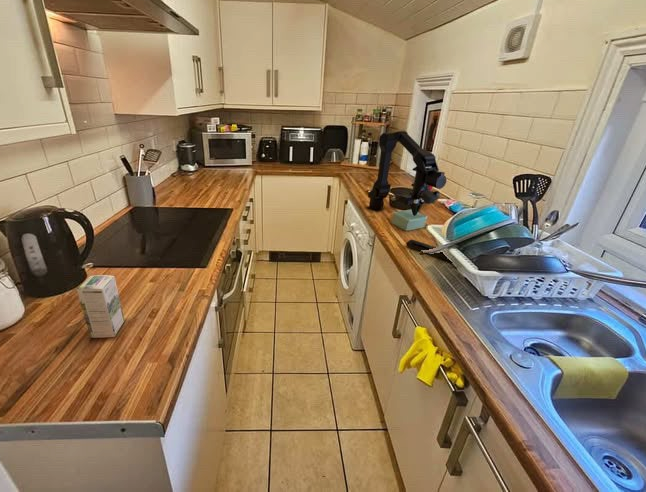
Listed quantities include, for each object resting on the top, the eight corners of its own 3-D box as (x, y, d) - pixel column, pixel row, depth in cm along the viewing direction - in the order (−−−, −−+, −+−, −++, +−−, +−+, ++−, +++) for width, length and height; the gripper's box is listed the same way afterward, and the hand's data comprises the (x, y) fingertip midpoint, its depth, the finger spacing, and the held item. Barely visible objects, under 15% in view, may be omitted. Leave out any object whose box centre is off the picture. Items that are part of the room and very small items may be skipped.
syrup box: (102, 322, 78) (88, 274, 72) (126, 321, 78) (114, 274, 73) (90, 338, 73) (74, 289, 67) (115, 337, 73) (102, 288, 67)
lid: (427, 218, 138) (428, 216, 138) (408, 221, 134) (409, 220, 134) (411, 210, 147) (411, 209, 147) (393, 213, 142) (393, 212, 142)
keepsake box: (424, 227, 141) (426, 217, 139) (405, 231, 136) (407, 221, 134) (409, 219, 149) (411, 210, 147) (391, 223, 144) (392, 213, 142)
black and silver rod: (405, 246, 122) (406, 240, 121) (408, 244, 124) (409, 238, 123) (452, 263, 111) (453, 256, 110) (454, 260, 113) (456, 253, 112)
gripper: (419, 189, 121) (412, 224, 128) (451, 185, 129) (443, 218, 135) (399, 182, 131) (394, 215, 137) (430, 178, 138) (424, 210, 144)
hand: (414, 215), depth 138 cm, fingers closed
